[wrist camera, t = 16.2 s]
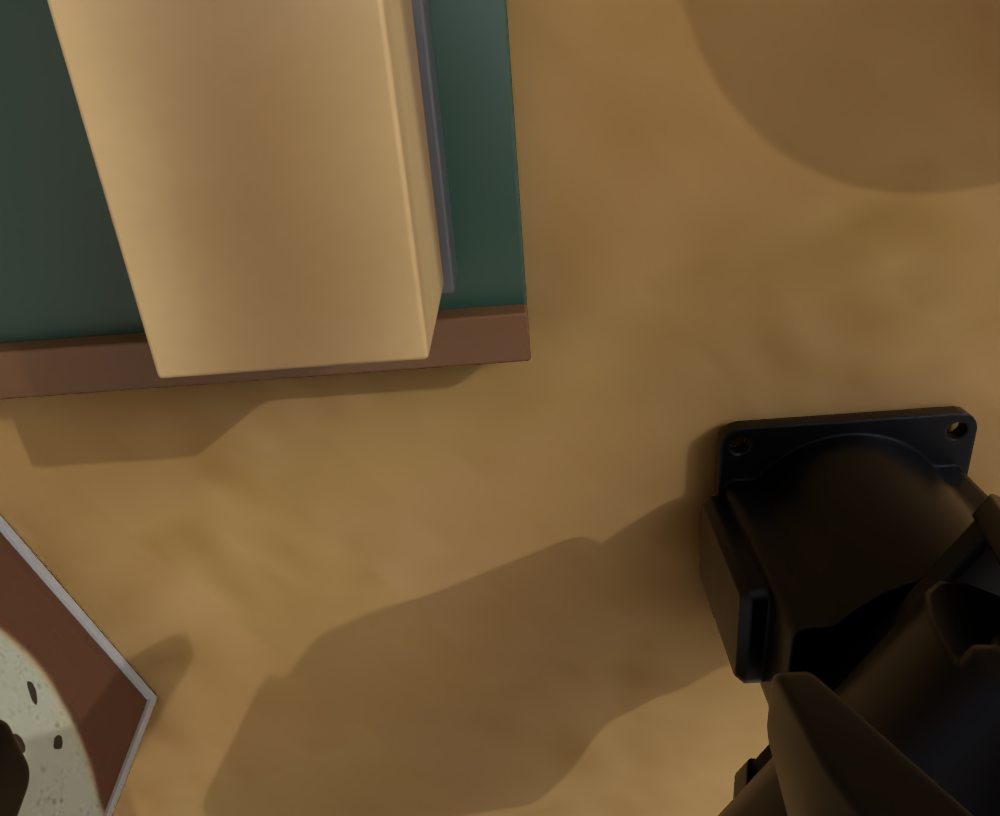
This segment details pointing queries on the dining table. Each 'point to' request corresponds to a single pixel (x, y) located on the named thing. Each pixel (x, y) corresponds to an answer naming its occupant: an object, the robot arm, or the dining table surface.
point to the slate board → (98, 258)
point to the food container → (64, 692)
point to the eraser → (269, 175)
